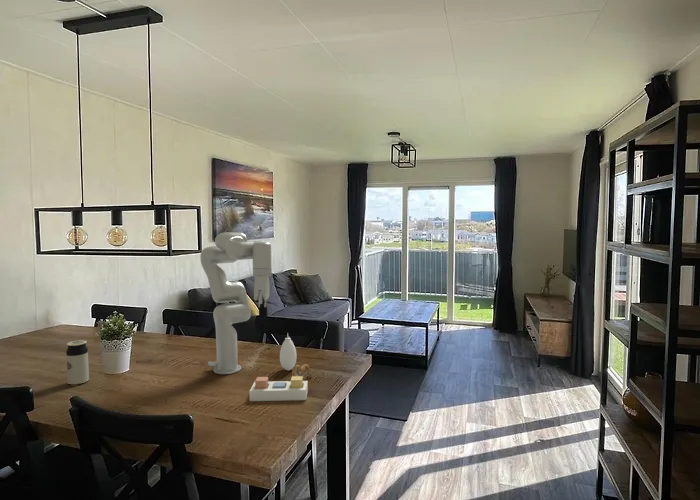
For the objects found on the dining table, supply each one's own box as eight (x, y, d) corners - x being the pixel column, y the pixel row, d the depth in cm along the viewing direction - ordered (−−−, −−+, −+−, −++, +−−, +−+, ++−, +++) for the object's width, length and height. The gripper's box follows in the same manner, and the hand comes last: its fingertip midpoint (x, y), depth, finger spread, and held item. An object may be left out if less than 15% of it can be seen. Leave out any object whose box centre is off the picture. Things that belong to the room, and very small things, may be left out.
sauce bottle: (293, 373, 201) (292, 334, 200) (277, 372, 202) (276, 334, 201) (298, 367, 208) (298, 330, 207) (283, 366, 210) (282, 330, 209)
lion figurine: (301, 387, 182) (301, 366, 182) (289, 386, 184) (289, 365, 183) (313, 376, 196) (313, 356, 196) (302, 375, 198) (302, 355, 197)
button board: (249, 401, 169) (249, 391, 169) (254, 391, 179) (254, 381, 179) (306, 399, 170) (305, 390, 169) (307, 390, 180) (307, 380, 179)
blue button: (273, 396, 172) (273, 386, 172) (274, 391, 176) (274, 382, 176) (284, 395, 172) (284, 386, 172) (285, 391, 176) (285, 382, 176)
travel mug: (86, 378, 196) (84, 339, 195) (91, 382, 191) (89, 342, 190) (65, 382, 191) (64, 342, 190) (70, 387, 185) (68, 346, 184)
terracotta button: (255, 390, 172) (255, 380, 171) (257, 386, 176) (257, 377, 176) (266, 390, 172) (266, 380, 172) (268, 386, 176) (268, 376, 176)
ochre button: (290, 390, 172) (290, 380, 172) (291, 385, 176) (291, 376, 176) (301, 389, 172) (301, 380, 172) (302, 385, 177) (302, 376, 176)
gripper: (256, 270, 185) (257, 312, 186) (249, 274, 170) (250, 320, 171) (274, 270, 185) (274, 312, 186) (268, 274, 170) (269, 320, 171)
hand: (263, 316), depth 178 cm, fingers closed
